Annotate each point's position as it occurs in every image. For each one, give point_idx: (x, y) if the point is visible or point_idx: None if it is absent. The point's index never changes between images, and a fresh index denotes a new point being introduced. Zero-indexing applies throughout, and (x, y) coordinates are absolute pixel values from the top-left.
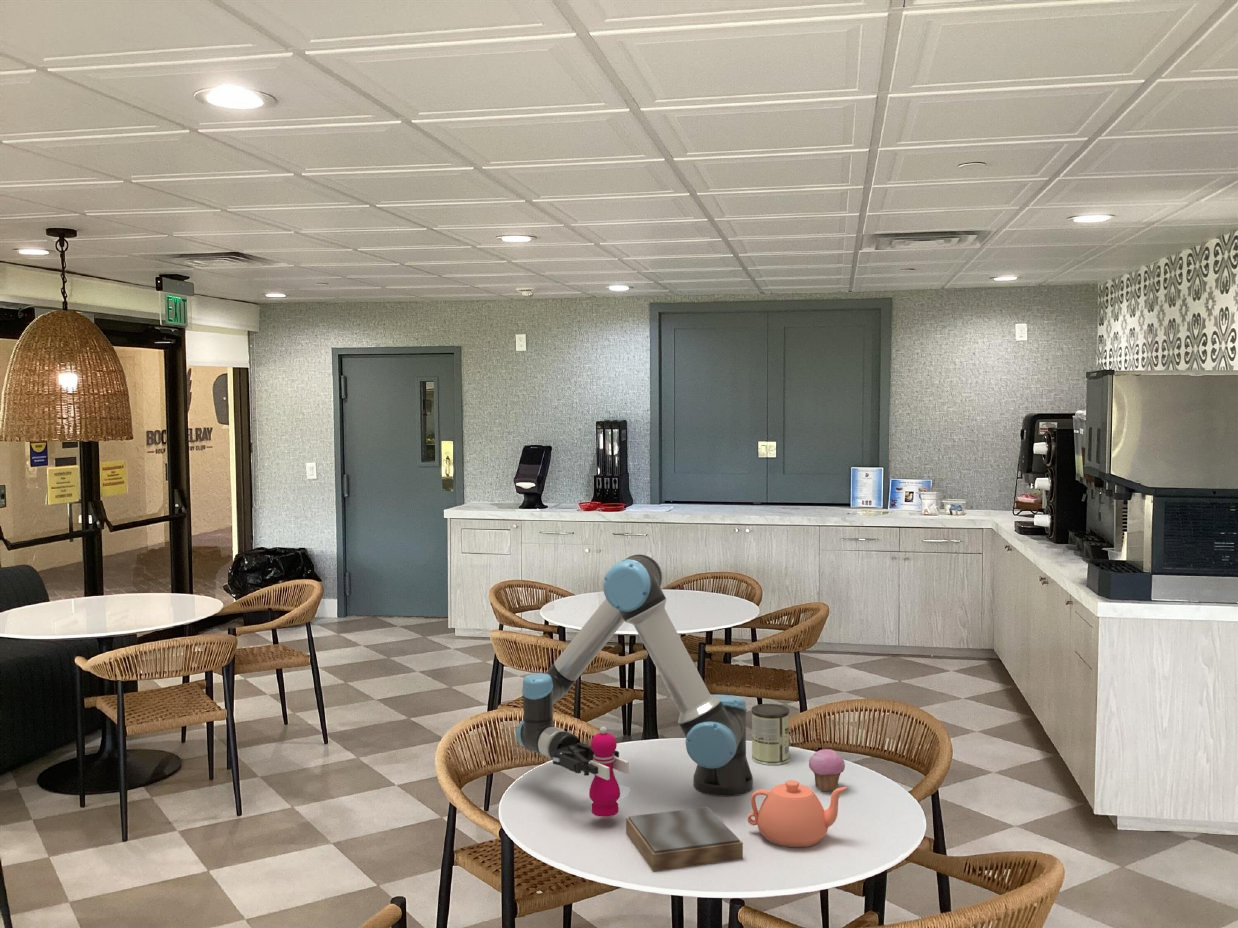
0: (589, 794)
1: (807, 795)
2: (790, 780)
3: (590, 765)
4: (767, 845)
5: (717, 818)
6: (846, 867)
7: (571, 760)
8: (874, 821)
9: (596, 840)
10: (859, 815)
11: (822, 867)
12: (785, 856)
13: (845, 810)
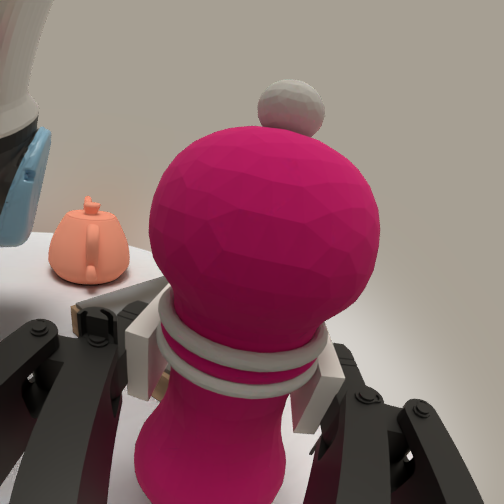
0: (273, 499)
1: (100, 211)
2: (86, 203)
3: (347, 375)
4: (123, 282)
5: (121, 290)
6: (140, 252)
7: (456, 458)
8: (37, 242)
9: (300, 454)
10: (24, 245)
11: (150, 259)
12: (143, 273)
13: (13, 250)
